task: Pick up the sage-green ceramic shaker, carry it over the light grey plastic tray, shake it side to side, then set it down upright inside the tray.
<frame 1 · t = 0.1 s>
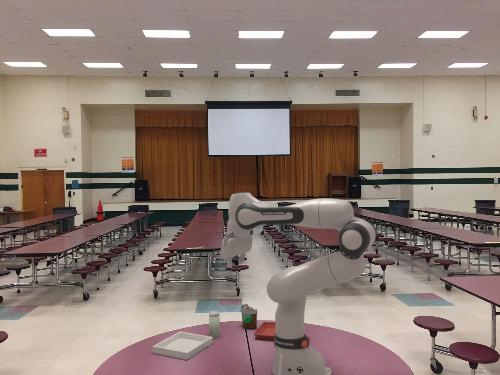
hand: (235, 265, 175), 39 cm above the table, tool pointing down, fingers open, 8 cm apart
tray: (183, 348, 189), on the table
plant saucer: (277, 336, 204), on the table
food container: (247, 327, 216), on the table
shaker: (214, 336, 203), on the table
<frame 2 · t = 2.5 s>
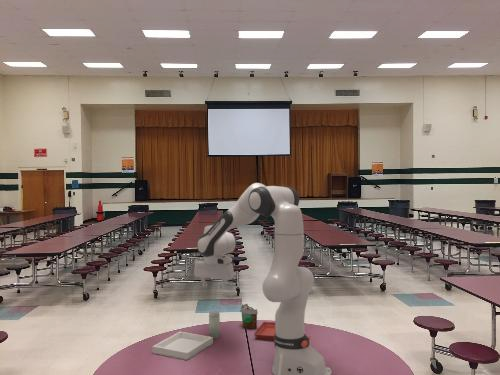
hand: (213, 287, 203), 23 cm above the table, tool pointing down, fingers open, 8 cm apart
nothing on the table moved.
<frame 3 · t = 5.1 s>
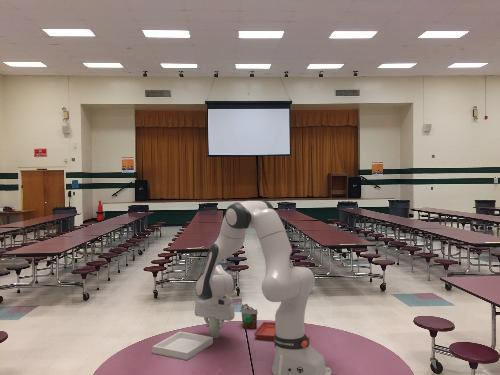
hand: (214, 327, 203), 4 cm above the table, tool pointing down, fingers closed on shaker, 5 cm apart
shaker: (214, 336, 203), on the table, touching gripper
everything else where it was.
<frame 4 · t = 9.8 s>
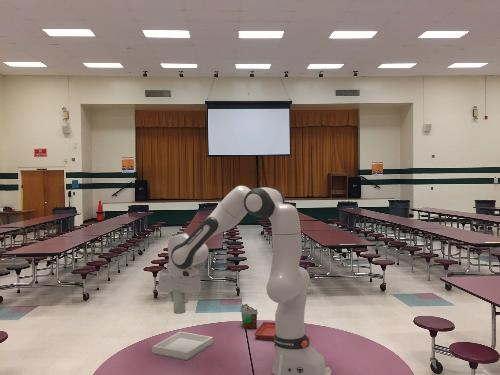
hand: (179, 302, 187), 21 cm above the table, tool pointing down, fingers closed on shaker, 5 cm apart
shaker: (179, 312, 187), point 17 cm above the table, touching gripper
everything else where it was.
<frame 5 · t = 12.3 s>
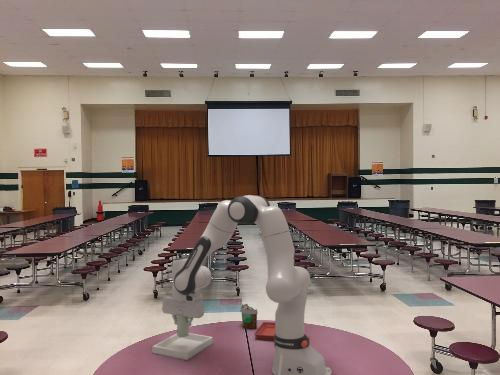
hand: (182, 325, 189), 10 cm above the table, tool pointing down, fingers closed on shaker, 5 cm apart
shaker: (183, 335, 189), point 6 cm above the table, touching gripper
everything else where it was.
when the fingers open (6 cm above the table, at t = 14.3 s): shaker drops 1 cm, resting on tray.
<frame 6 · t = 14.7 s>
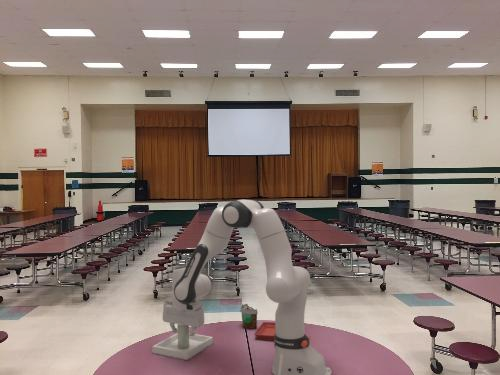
hand: (183, 334, 189), 6 cm above the table, tool pointing down, fingers open, 8 cm apart
shaker: (183, 346, 189), point 1 cm above the table, touching tray
everything else where it was.
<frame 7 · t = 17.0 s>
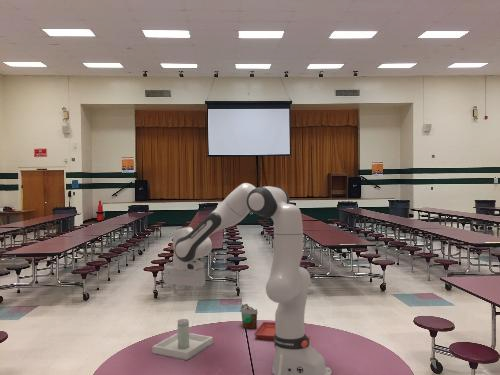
hand: (184, 294, 190), 23 cm above the table, tool pointing down, fingers open, 8 cm apart
nothing on the table moved.
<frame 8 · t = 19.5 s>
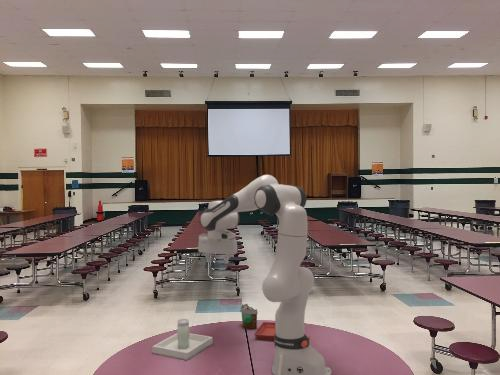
hand: (217, 262, 206), 34 cm above the table, tool pointing down, fingers open, 8 cm apart
nothing on the table moved.
at the end: shaker inside the target area on the tray (0.0 cm from its centre), point 0.6 cm above the tray's base; shaker tilted 0°; the gripper is holding nothing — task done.
